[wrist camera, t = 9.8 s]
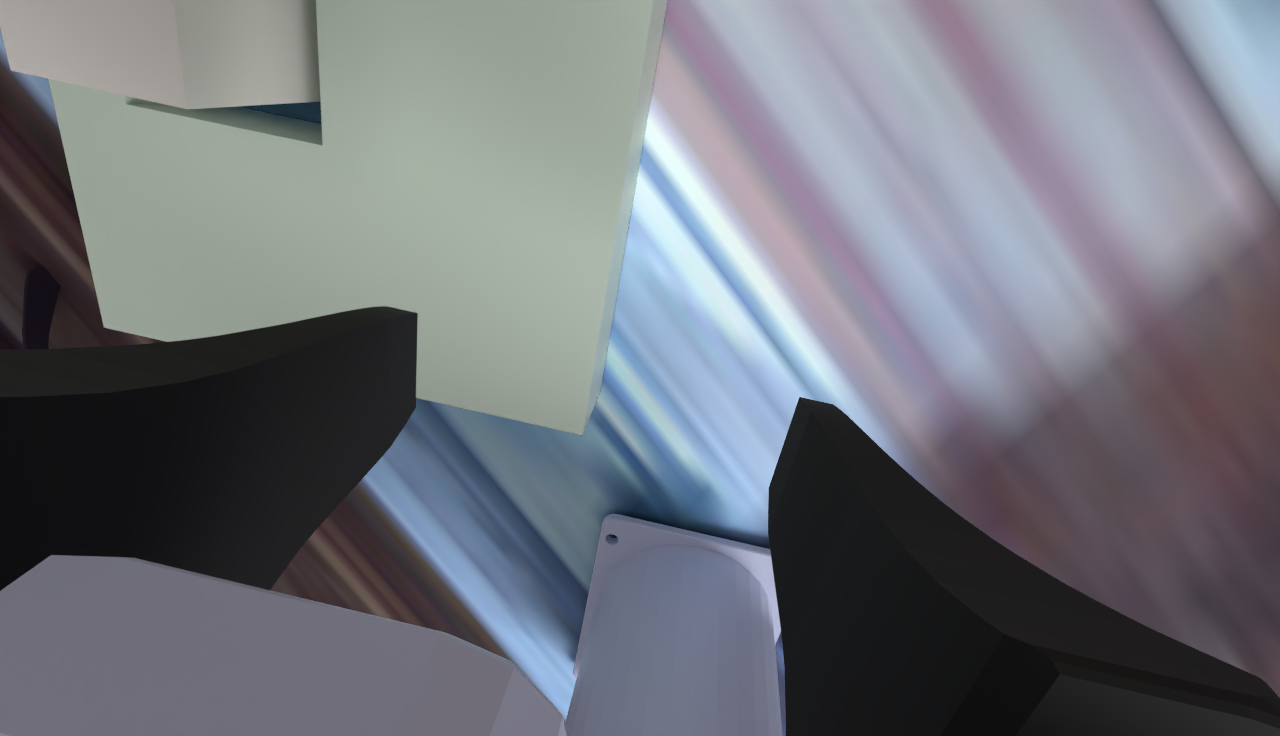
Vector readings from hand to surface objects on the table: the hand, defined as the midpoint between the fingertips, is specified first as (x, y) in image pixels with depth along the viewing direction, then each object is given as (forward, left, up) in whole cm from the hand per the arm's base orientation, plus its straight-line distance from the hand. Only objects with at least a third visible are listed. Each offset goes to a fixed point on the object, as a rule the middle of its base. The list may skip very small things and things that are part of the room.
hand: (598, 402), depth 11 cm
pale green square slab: (+3, +9, -9) cm, 13 cm away
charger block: (+5, +12, -10) cm, 16 cm away
